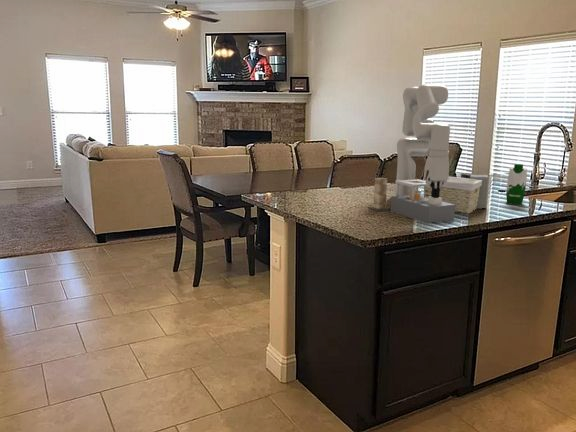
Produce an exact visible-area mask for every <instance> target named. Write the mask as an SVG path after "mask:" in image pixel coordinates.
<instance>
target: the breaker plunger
mask: <svg viewBox="0 0 576 432" xmlns="http://www.w3.org/2000/svg"><path fill="white" fill-rule="evenodd" d="M421 194H422V193H420V194H417V193H415V199H414V200H420V197H421V196H422V195H421ZM409 199H411V200H412V193H410V197H409Z"/></svg>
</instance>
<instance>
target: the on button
mask: <svg viewBox="0 0 576 432" xmlns="http://www.w3.org/2000/svg"><path fill="white" fill-rule="evenodd" d="M441 203H442V198H441V197H439V198H434V197H428V204H432V205H440V204H441Z"/></svg>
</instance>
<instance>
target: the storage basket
mask: <svg viewBox="0 0 576 432" xmlns="http://www.w3.org/2000/svg"><path fill="white" fill-rule="evenodd" d="M423 180H424V178H423ZM424 181H426V180H424ZM481 185H482V180H476V179H469V178H461V177H458V176H457V177H456V176H452V177H450V176H449V177H448V180H447V183H445V184H443V185H442V187H441V188H440V193H439V197H441V198H442V201H443V202H447V203H451V204H455V213H460V212H462V213H461V214H470V213H472V212H474V211H476V210H477V209H478V208H477V202H478V197H479V191H480V186H481ZM431 192H432V188H431V186H423V197H427V198H428V197H431ZM475 209H476V210H475ZM473 210H474V211H473Z"/></svg>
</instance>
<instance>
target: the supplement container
mask: <svg viewBox="0 0 576 432" xmlns="http://www.w3.org/2000/svg"><path fill="white" fill-rule="evenodd" d="M470 175H480V174H478V173H472V172H462V173H461V174H460V178H469V179H470Z"/></svg>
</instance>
